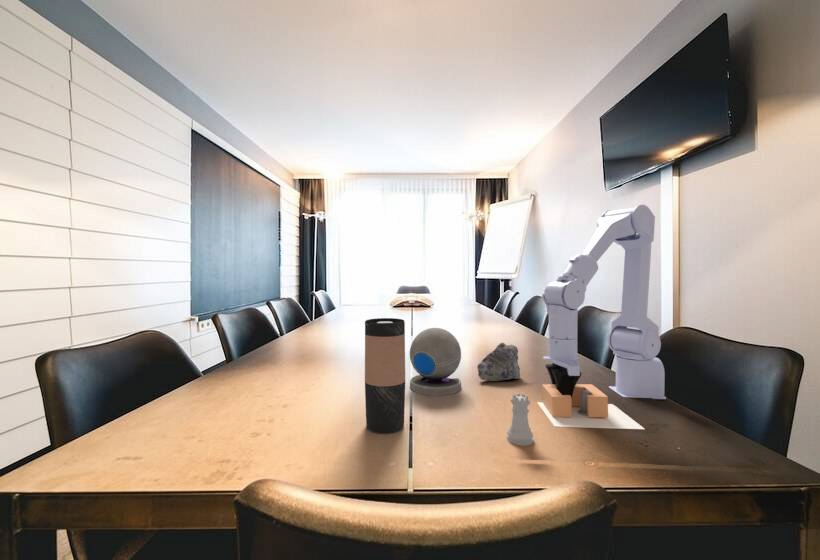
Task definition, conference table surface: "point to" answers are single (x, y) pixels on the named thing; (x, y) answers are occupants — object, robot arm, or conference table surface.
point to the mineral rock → (500, 364)
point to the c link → (574, 401)
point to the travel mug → (385, 374)
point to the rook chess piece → (520, 422)
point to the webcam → (435, 362)
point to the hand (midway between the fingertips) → (562, 400)
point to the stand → (581, 419)
